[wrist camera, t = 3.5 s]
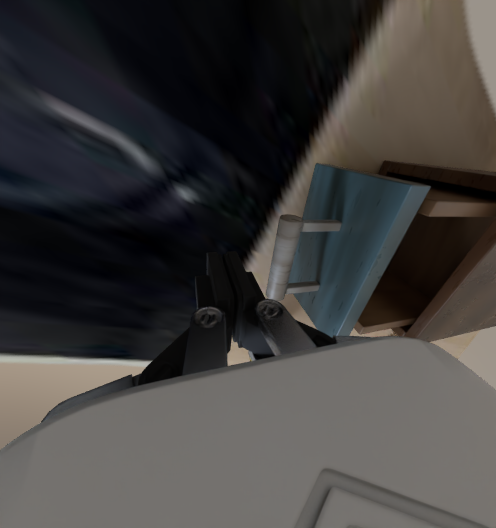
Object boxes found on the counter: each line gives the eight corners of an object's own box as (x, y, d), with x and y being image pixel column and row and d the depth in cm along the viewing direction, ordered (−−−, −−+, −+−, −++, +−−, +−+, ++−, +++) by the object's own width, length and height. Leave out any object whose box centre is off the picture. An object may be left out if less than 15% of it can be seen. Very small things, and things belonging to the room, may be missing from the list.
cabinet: (336, 277, 24) (409, 347, 16) (383, 160, 17) (546, 182, 10) (418, 269, 28) (509, 322, 20) (483, 170, 21) (658, 192, 13)
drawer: (247, 287, 20) (277, 360, 13) (262, 158, 14) (330, 179, 7) (378, 274, 24) (447, 323, 18) (433, 173, 18) (563, 194, 12)
